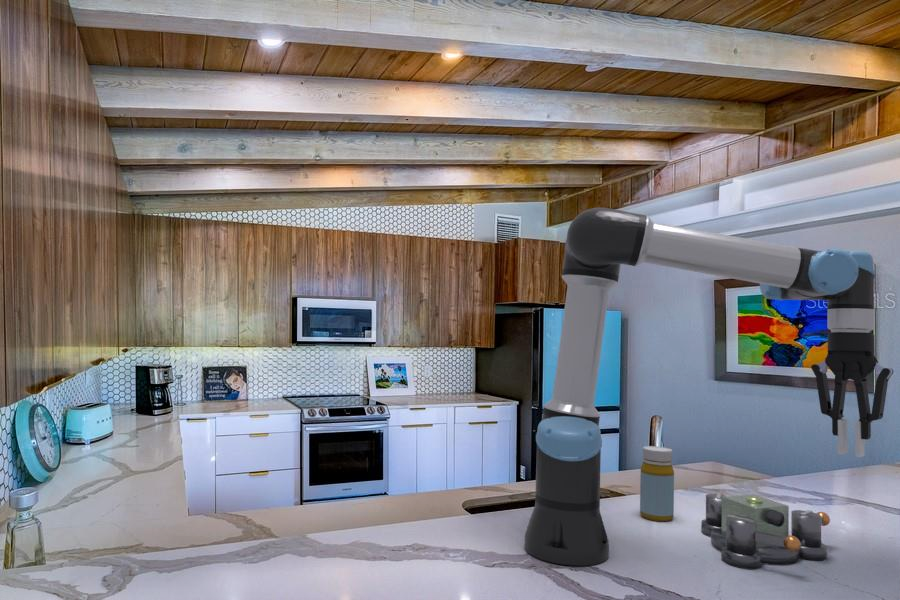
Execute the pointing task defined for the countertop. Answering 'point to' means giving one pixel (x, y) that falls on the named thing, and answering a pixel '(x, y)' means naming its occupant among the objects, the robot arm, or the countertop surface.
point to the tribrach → (768, 520)
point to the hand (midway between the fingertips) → (851, 454)
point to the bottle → (657, 484)
